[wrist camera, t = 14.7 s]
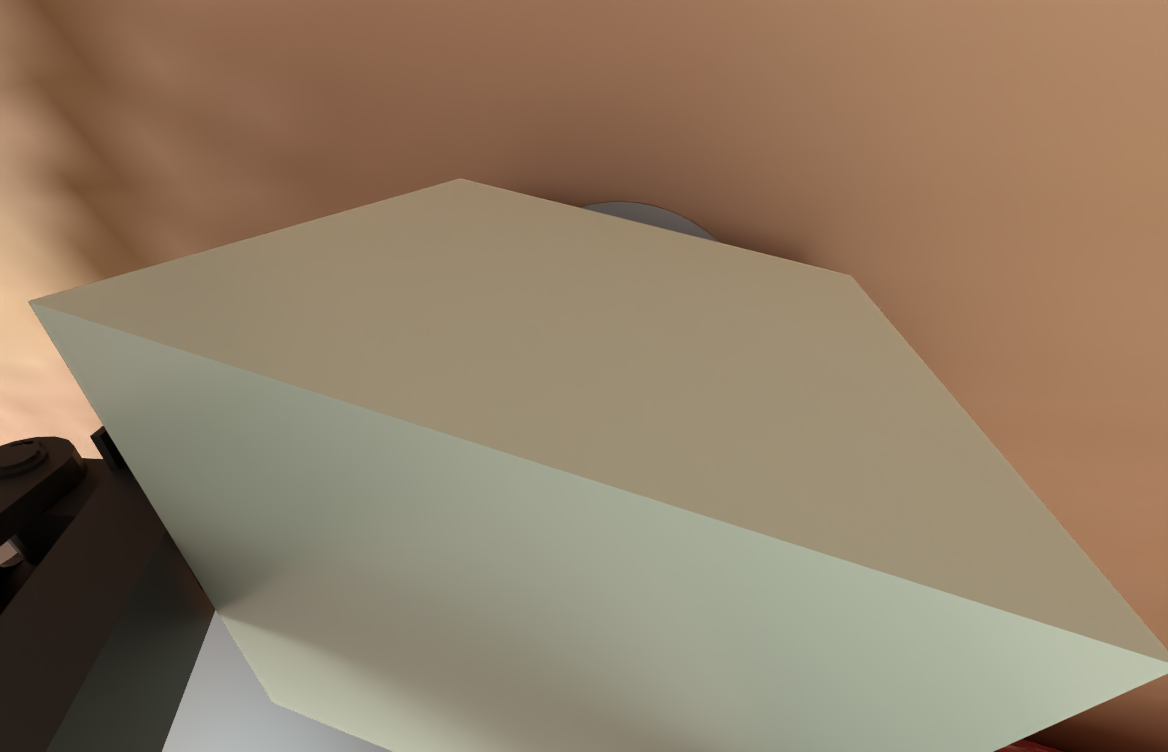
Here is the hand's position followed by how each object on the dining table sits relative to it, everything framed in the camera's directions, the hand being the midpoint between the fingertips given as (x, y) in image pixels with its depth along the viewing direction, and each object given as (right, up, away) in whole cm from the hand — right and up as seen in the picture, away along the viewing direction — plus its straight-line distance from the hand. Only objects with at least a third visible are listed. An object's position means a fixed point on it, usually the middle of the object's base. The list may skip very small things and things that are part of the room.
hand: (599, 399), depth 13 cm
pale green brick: (0, 0, +1) cm, 1 cm away
